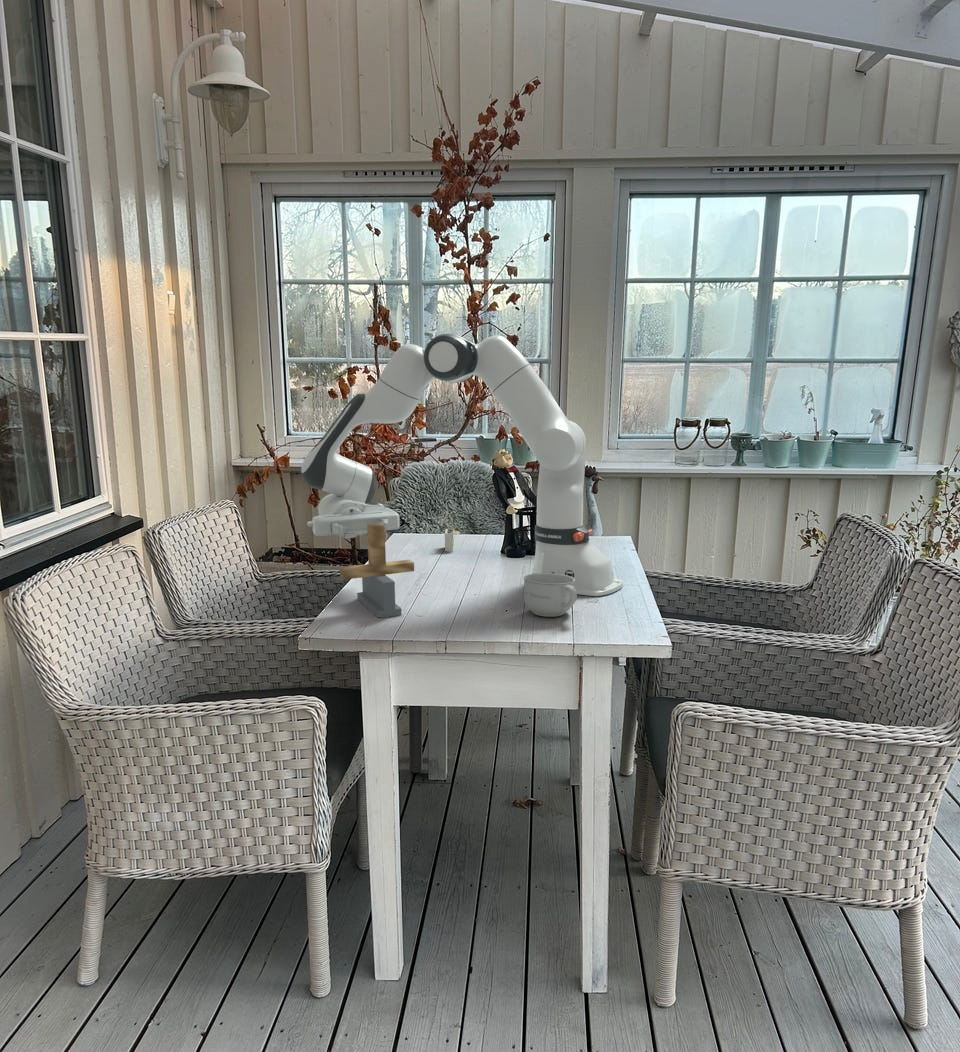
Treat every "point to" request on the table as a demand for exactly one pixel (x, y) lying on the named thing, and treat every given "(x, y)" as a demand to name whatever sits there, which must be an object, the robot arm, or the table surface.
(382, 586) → the ridge
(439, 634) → the table surface
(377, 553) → the wooden t-shaped post
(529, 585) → the teacup
